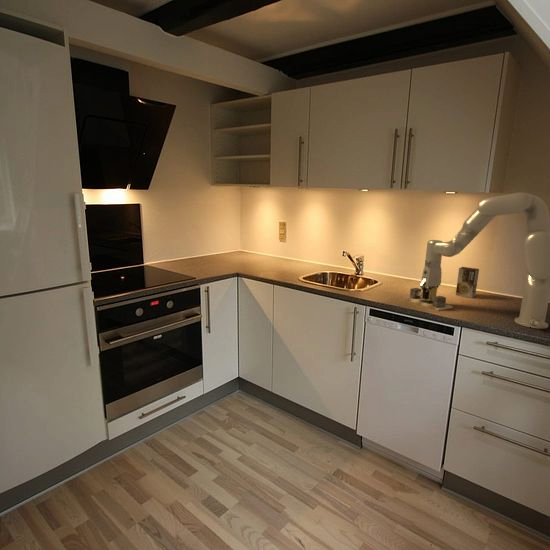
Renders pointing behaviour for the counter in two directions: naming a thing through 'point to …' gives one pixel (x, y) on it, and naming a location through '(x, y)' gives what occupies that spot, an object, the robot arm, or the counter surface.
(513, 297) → the counter surface
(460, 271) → the coffee box
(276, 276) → the counter surface
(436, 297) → the shaft bench
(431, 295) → the coupling block
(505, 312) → the counter surface
